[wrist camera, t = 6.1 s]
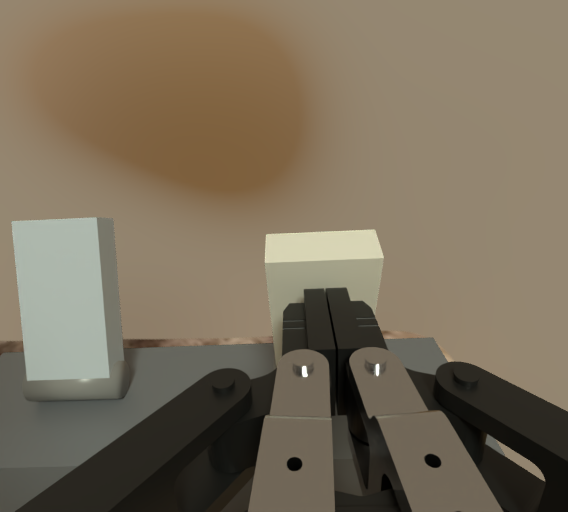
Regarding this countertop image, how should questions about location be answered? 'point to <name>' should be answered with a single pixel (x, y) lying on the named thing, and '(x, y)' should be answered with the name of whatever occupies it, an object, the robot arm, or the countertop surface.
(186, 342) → the countertop surface
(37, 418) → the grey holder base
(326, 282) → the tall cream slab
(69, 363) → the grey-blue slab
